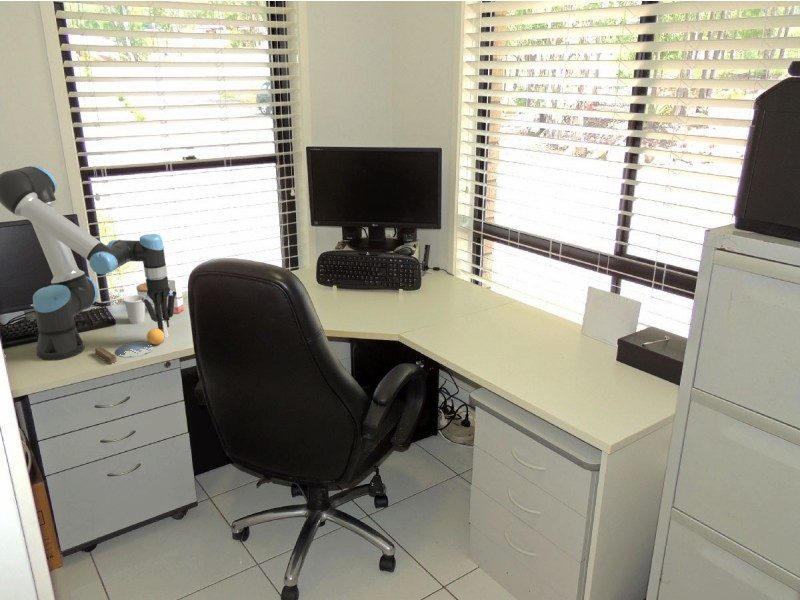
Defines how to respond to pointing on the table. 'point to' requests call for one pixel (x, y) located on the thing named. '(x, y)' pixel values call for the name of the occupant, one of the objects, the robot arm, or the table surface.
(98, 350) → the strip
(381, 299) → the table surface
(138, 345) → the slate mark
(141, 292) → the lidded jar
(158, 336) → the ball
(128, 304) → the dixie cup
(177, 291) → the ink cartridge box
